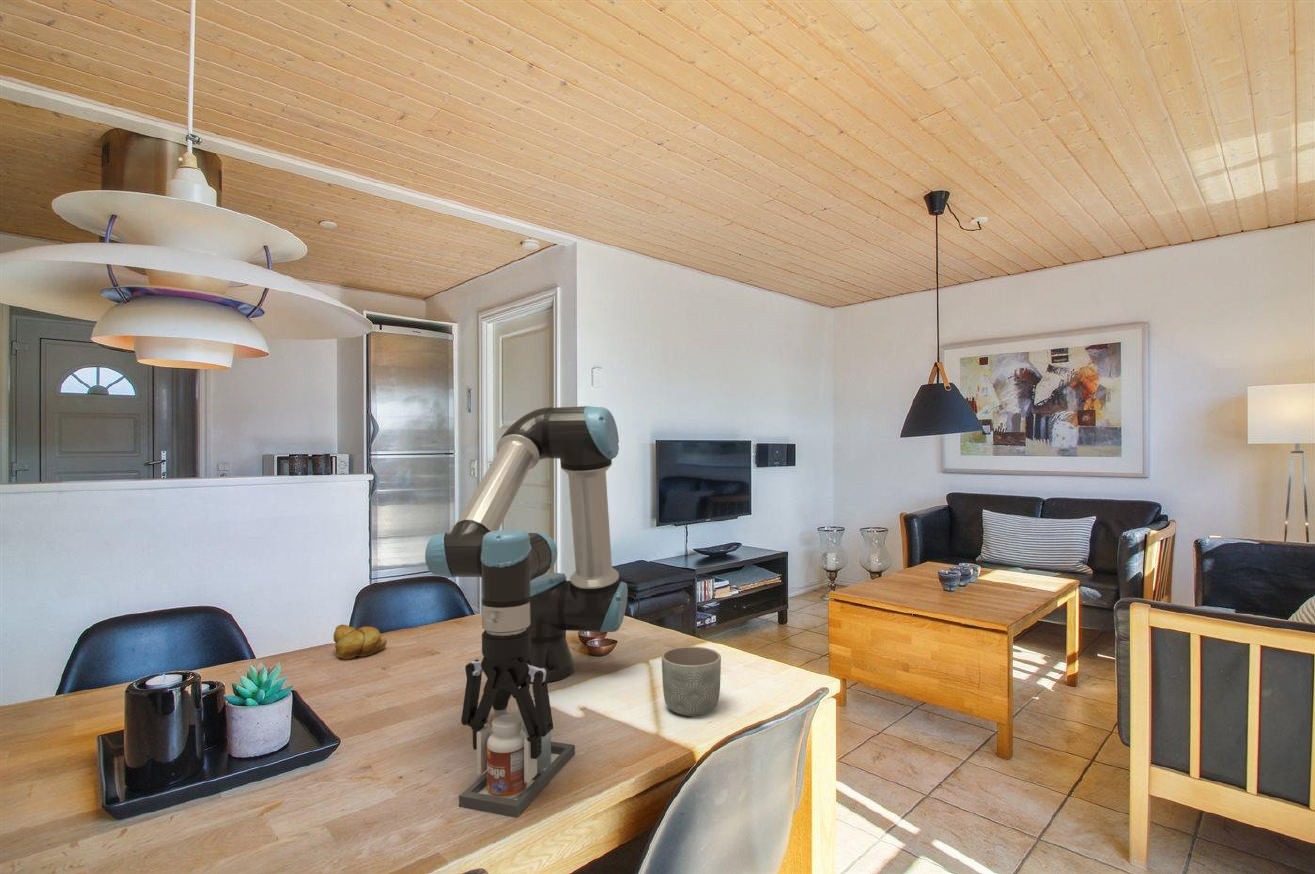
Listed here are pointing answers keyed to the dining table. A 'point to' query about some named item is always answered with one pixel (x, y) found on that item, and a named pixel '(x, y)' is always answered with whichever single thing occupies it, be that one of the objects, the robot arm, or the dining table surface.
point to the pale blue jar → (545, 756)
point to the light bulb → (501, 702)
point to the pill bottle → (506, 757)
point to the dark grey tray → (514, 807)
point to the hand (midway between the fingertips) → (506, 773)
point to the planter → (691, 679)
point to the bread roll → (357, 641)
